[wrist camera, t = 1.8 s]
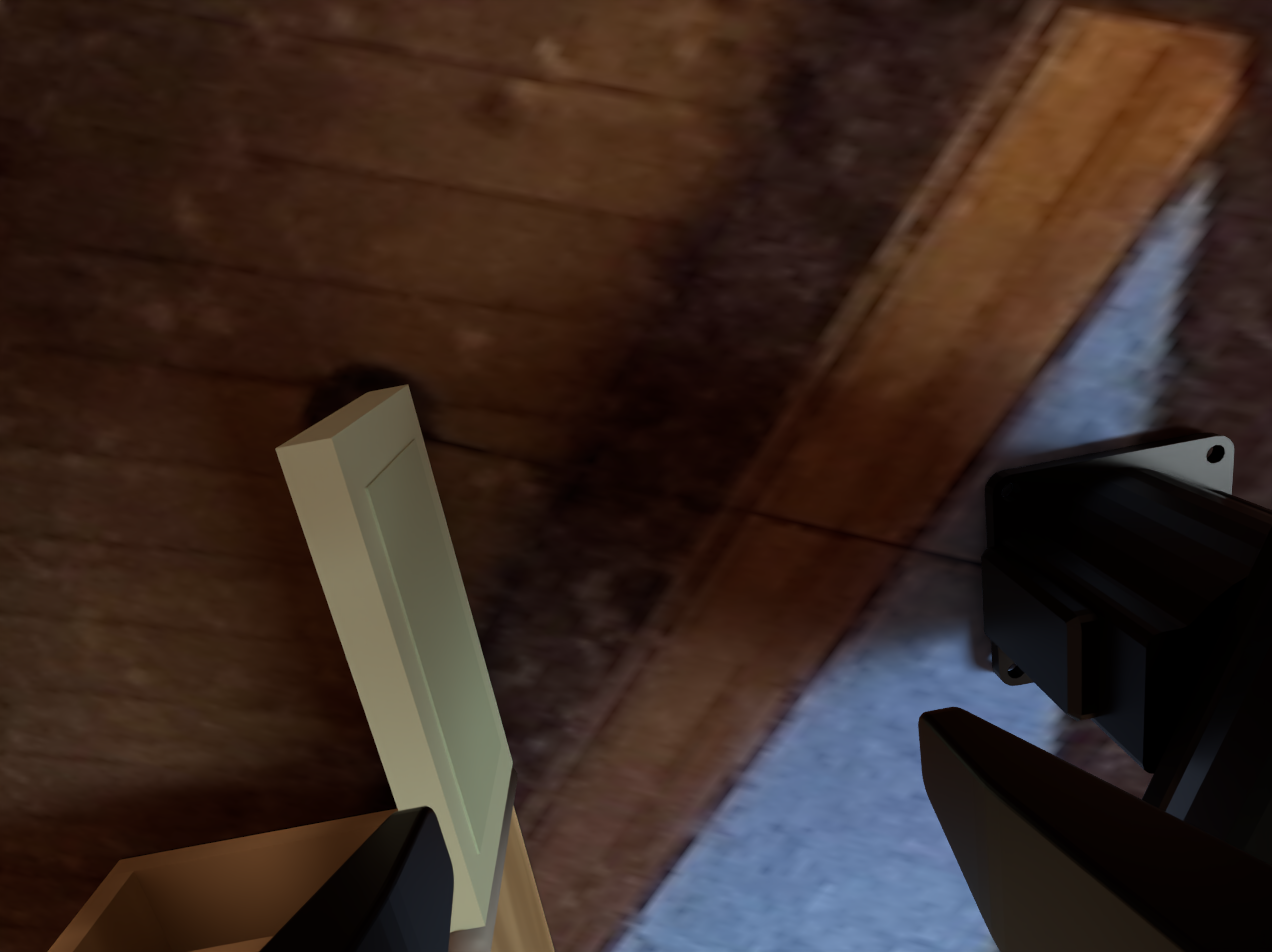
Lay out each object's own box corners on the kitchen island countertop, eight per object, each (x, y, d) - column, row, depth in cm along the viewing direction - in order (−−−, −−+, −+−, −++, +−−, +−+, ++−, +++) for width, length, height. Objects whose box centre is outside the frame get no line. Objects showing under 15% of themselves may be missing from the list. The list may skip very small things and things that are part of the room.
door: (522, 787, 22) (497, 963, 16) (487, 794, 22) (451, 972, 16) (411, 383, 18) (331, 438, 13) (369, 391, 18) (273, 450, 13)
